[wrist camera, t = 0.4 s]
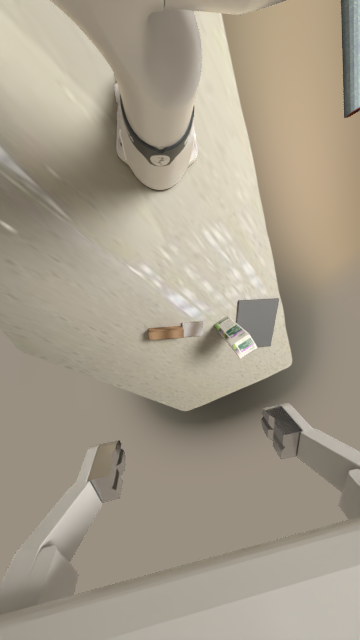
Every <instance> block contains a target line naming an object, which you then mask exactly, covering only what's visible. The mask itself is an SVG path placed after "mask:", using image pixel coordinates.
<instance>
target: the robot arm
mask: <svg viewBox="0 0 360 640" xmlns="http://www.w3.org/2000/svg"><path fill="white" fill-rule="evenodd" d="M50 1H51V2H53V3H54V4H55V5H56V6H57V7H59V8H60V9H61V10H62V11H63V12H64V13H65V14H66V15H67V16H68V17H69V18H71V19H72V21H73V22H74V23H75V24H76V25H77V26H78V27H79V28H80V29H81V30H82V31H83V32H84V33H85V34H86V35H87V37H88V38H89V39H90V40H91V41H92V43H93V44H94V45H95V46H96V47H97V49H98V50H99V51H100V52H101V54H102V55H103V57H104V58H105V59H106V61H107V62H108V64H109V65H110V67H111V68H112V70H113V72H114V75H115V78H116V81H117V83H116V84H115V99H116V102H117V103H118V111H117V139H116V151H117V155H118V156H119V158H120V159H121V160H122V161H124V162H125V163H126V164H128V165H129V166H130V168H131V169H132V171H133V173H134V174H135V176H136V177H137V178H138V179H139V180H140V181H141V182H142V183H143V184H145V185H146V186H148V187H150V188H152V189H157V190H164V189H168V188H171V187H172V186H174V185H175V184H177V183H178V182H179V181H180V179H181V178H182V176H183V175H184V173H185V171H186V169H187V168H188V166H190V165H191V164H192V163H193V162H194V161H195V160H196V159H197V155H198V151H197V143H196V134H195V129H194V122H193V117H194V102H195V98H196V94H197V90H198V86H199V81H200V76H201V69H202V46H201V38H200V33H199V28H198V24H197V21H196V17H195V14H194V11H203V12H215V13H226V14H238V15H241V14H245V13H248V12H252V11H255V10H259V9H262V8H266V7H269V6H272V5H275V4H277V3H280V2H283V1H286V0H50ZM121 144H122V146H121ZM262 415H263V418H262V419H261V423H262V427H263V430H264V432H265V434H266V436H267V437H268V438H269V439H271V440H272V441H273V447H274V449H275V450H276V452H277V454H278V455H279V457H280V458H281V459H285V458H290V457H295V456H297V458H299V459H300V460H301V461H302V462H304V463H305V464H306V465H308V466H309V467H310V468H311V469H313V470H314V471H315V472H317V473H318V474H319V475H320V476H322V477H323V478H324V479H325V480H327V481H328V482H329V483H331V484H332V485H333V486H334V487H336V488H337V489H338V490H340V491H341V492H342V494H341V496H340V499H339V507H340V508H341V510H342V511H343V512H344V514H345V515H346V517H347V518H348V519H349V520H346V521H342V522H339V523H335V524H331V525H328V526H324V527H321V528H317V529H313V530H309V531H306V532H302V533H299V534H295V535H291V536H288V537H284V538H280V539H276V540H273V541H269V542H265V543H262V544H258V545H255V546H251V547H247V548H243V549H240V550H236V551H232V552H229V553H225V554H222V555H218V556H214V557H210V558H207V559H203V560H200V561H196V562H192V563H188V564H185V565H181V566H177V567H174V568H170V569H166V570H163V571H159V572H156V573H152V574H148V575H144V576H141V577H137V578H134V579H130V580H126V581H122V582H119V583H115V584H112V585H108V586H104V587H100V588H97V589H93V590H90V591H86V592H82V593H78V594H75V595H74V592H75V588H76V584H77V580H78V576H79V575H78V572H77V570H76V569H75V568H74V567H73V566H72V564H71V563H70V561H71V559H72V558H73V555H74V554H75V552H76V550H77V549H78V547H79V545H80V543H81V541H82V540H83V538H84V536H85V534H86V533H87V531H88V529H89V527H90V526H91V524H92V522H93V520H94V519H95V517H96V515H97V513H98V511H99V510H100V508H101V506H102V503H104V502H108V501H112V500H115V499H118V498H120V495H121V489H122V483H123V481H122V479H121V475H122V474H123V472H124V470H125V452H124V450H123V449H121V442H120V441H115V442H109V443H104V444H99V445H94V446H90V448H89V449H88V451H87V454H86V456H85V459H84V461H83V464H82V467H81V470H80V472H79V475H78V478H77V480H76V483H75V484H74V485H72V486H71V487H70V488H69V489H68V490H67V492H66V493H65V494H64V495H63V496H62V498H61V499H60V500H59V501H58V503H57V504H56V505H55V506H54V507H53V509H52V510H51V511H50V512H49V513H48V515H47V516H46V517H45V518H44V519H43V521H42V522H41V523H40V524H39V526H38V527H37V528H36V529H35V530H34V532H33V533H32V534H31V535H30V537H29V538H28V539H27V540H26V541H25V542H24V544H23V545H22V546H21V547H20V548H19V550H18V551H17V552H16V553H15V555H14V557H13V560H12V562H11V564H10V566H9V568H8V570H7V572H6V574H5V576H4V578H3V580H2V582H1V584H0V640H360V452H359V451H357V450H355V449H354V448H351V447H350V446H348V445H346V444H344V443H342V442H340V441H338V440H336V439H335V438H333V437H331V436H329V435H327V434H325V433H323V432H321V431H319V430H318V429H312V427H311V426H310V425H309V424H308V423H307V422H306V421H305V420H304V419H303V418H302V417H301V415H300V414H299V413H298V412H297V411H296V410H295V409H294V408H293V407H292V406H291V405H290V404H289V403H286V404H282V405H276V406H272V407H268V408H263V409H262Z"/></svg>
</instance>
